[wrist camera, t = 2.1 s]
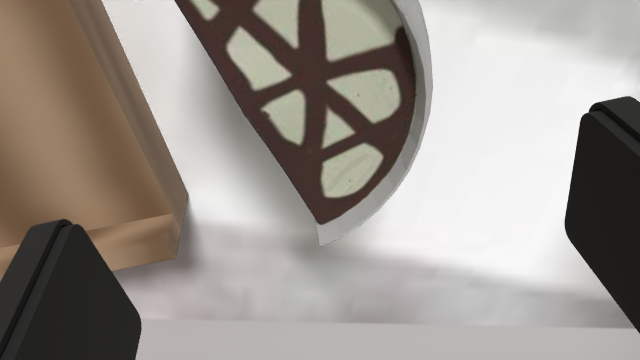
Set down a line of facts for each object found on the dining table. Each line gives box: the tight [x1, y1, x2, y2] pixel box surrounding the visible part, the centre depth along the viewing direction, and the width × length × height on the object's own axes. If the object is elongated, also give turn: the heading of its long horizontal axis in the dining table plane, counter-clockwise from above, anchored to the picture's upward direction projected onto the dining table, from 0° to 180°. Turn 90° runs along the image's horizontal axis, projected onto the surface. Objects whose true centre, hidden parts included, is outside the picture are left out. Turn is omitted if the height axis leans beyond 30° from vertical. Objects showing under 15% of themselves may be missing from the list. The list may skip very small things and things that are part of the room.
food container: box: [175, 0, 433, 247], centre depth 18 cm, size 12×6×10 cm, turn 25°
